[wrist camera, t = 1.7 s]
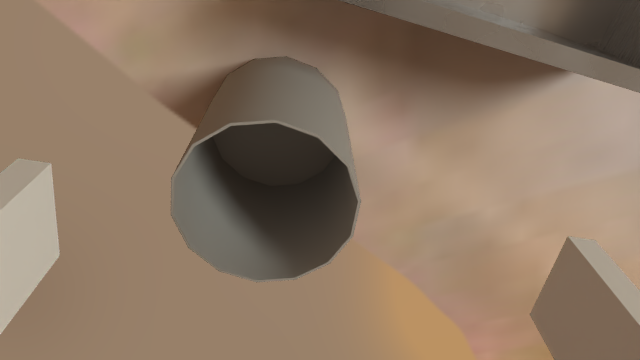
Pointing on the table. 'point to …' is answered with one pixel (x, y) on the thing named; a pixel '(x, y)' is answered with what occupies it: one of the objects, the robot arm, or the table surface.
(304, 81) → the cup
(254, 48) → the table surface
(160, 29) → the table surface
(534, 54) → the silver open box
